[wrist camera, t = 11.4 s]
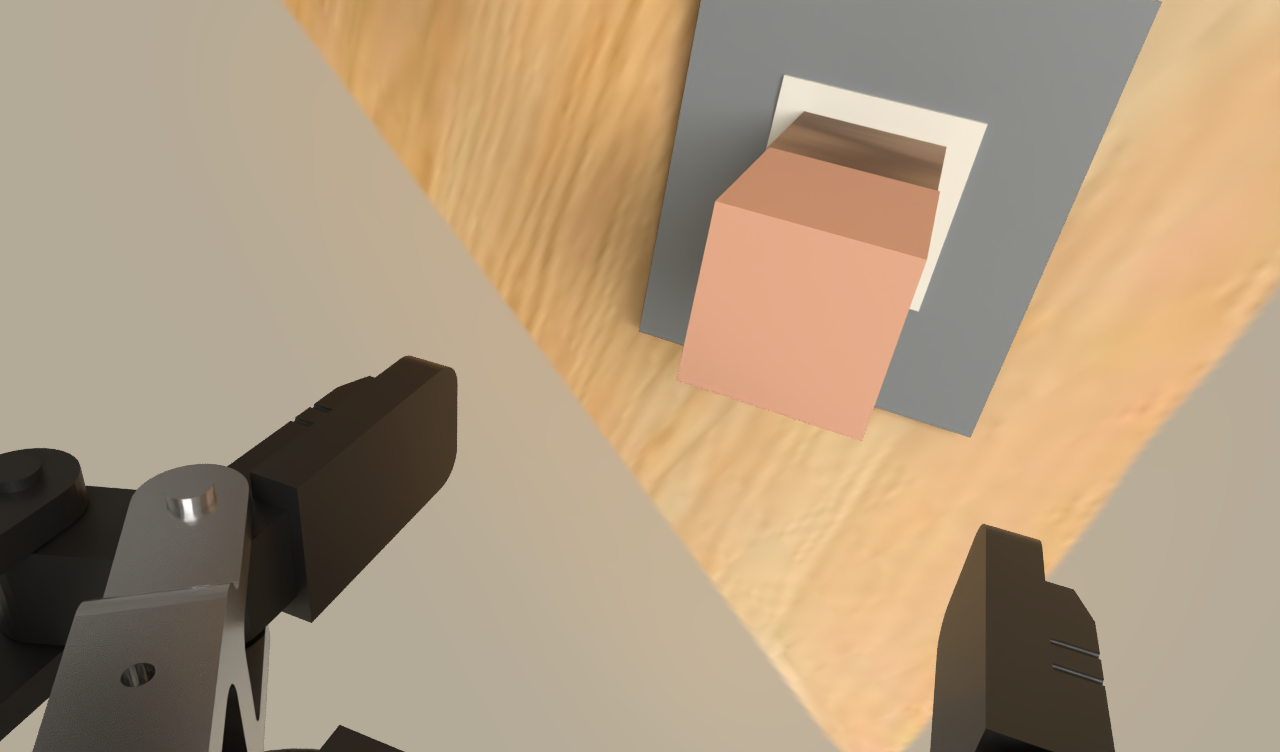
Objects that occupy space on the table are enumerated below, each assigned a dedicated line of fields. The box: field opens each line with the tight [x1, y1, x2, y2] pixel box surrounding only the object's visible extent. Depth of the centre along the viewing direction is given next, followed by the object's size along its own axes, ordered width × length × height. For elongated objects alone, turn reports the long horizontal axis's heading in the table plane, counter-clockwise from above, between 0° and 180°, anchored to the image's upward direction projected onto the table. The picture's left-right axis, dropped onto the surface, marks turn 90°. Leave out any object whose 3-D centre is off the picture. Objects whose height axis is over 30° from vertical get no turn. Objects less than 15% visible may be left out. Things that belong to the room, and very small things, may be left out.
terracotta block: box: [677, 147, 940, 441], centre depth 24 cm, size 5×5×6 cm
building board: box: [639, 0, 1162, 437], centre depth 32 cm, size 14×16×1 cm
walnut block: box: [767, 111, 947, 191], centre depth 29 cm, size 5×5×6 cm
